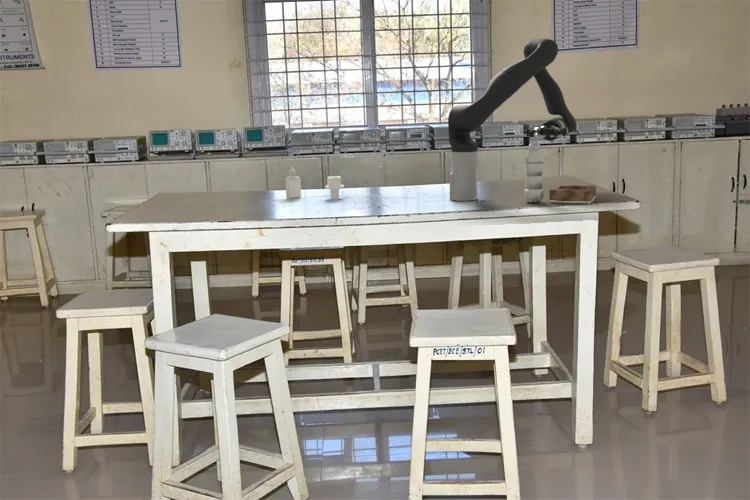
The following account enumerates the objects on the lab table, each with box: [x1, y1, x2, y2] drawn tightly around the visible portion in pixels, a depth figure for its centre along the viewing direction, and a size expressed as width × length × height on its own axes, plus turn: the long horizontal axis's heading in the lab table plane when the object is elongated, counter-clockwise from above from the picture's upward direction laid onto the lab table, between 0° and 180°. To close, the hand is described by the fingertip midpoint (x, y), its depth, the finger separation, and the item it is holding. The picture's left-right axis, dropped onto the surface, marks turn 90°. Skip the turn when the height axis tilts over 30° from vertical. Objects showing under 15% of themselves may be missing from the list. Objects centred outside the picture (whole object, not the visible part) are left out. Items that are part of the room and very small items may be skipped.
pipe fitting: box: [324, 175, 345, 200], centre depth 277 cm, size 6×7×8 cm
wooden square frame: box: [549, 184, 597, 201], centre depth 256 cm, size 14×14×4 cm
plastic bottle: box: [523, 143, 545, 202], centre depth 253 cm, size 6×7×20 cm
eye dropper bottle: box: [285, 165, 302, 200], centre depth 280 cm, size 4×6×12 cm
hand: (542, 133), depth 260 cm, fingers open, 8 cm apart
